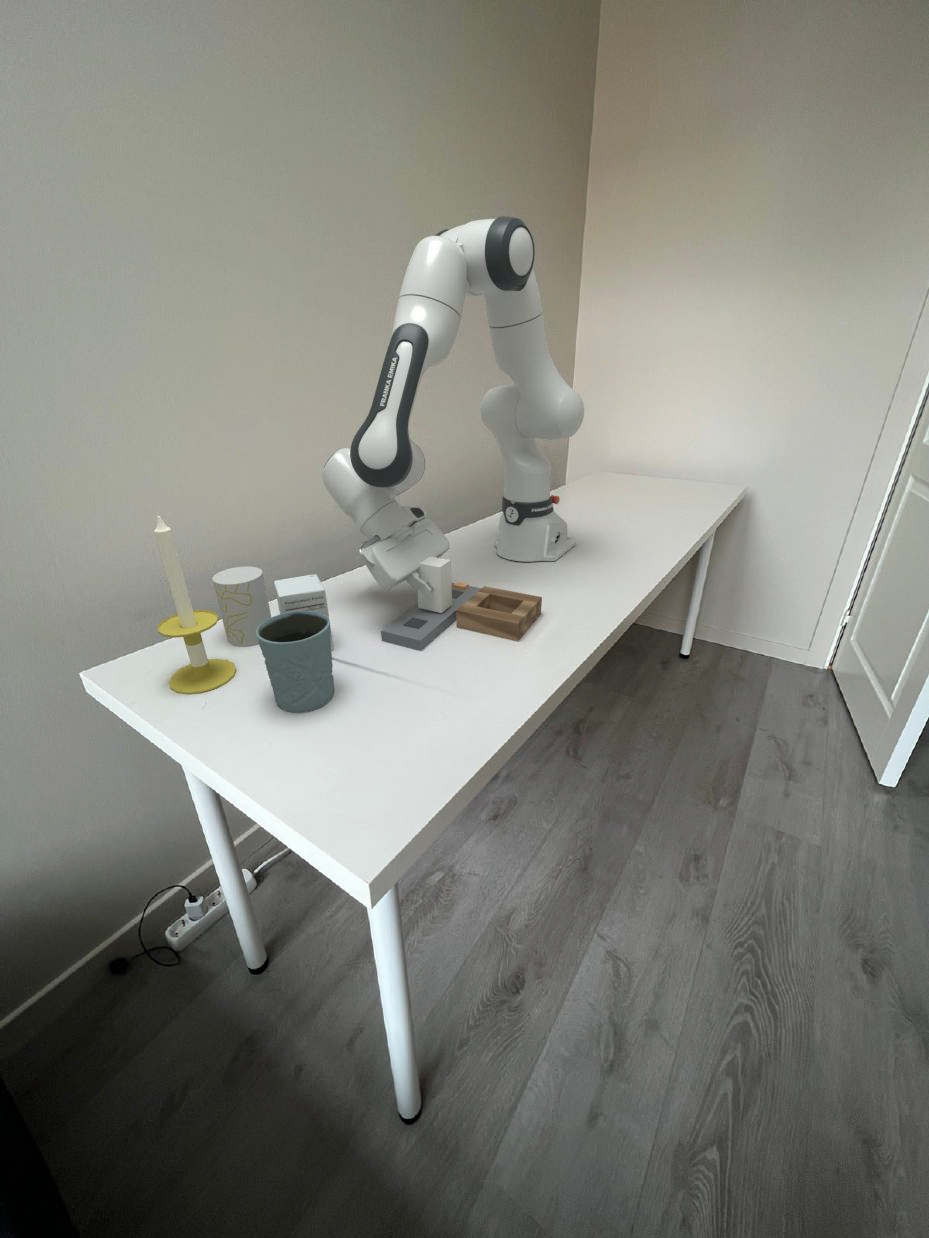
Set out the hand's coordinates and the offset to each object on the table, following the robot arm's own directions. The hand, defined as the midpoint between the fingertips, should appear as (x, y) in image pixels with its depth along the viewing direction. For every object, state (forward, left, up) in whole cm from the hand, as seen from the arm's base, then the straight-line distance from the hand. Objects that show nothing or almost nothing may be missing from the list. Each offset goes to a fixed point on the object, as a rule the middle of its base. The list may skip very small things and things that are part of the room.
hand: (437, 587), depth 98 cm
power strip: (0, -1, -7) cm, 7 cm away
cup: (+26, -23, -8) cm, 35 cm away
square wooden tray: (-7, +9, -7) cm, 14 cm away
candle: (+38, -16, -8) cm, 42 cm away
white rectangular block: (0, -1, -6) cm, 6 cm away
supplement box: (+22, -10, -8) cm, 25 cm away
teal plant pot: (+30, +1, -8) cm, 31 cm away
